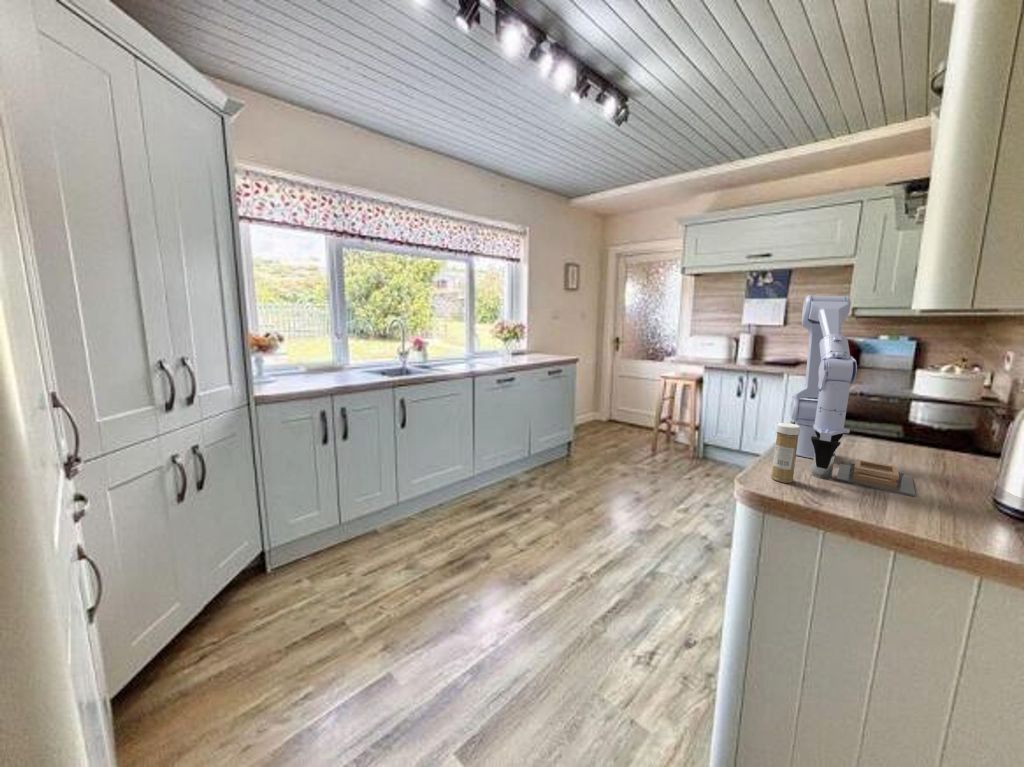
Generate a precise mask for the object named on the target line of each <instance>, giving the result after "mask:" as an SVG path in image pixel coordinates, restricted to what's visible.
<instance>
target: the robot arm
mask: <svg viewBox="0 0 1024 767" xmlns="http://www.w3.org/2000/svg"><path fill="white" fill-rule="evenodd" d="M851 302H852V301H851V298H850V297H849V296H848V295H847V294H846V295H811V294H808V295H806V297H805V298H804V300H803V303H802V312H801V327H803V328H805V329H806V330H808V331H807V332H808V347H807V358H806V370H805V383H804V387H803V388H801V389H799V390H797V391H795V392H794V393H793V395H792V399H791V402H790V406H789V417H790V419H791V420H792V421H794V424H795V425H798V426H800V434H799V436H798V443H797V451H796V457H797V456H798V457H804V458H809V459H813V460H814V454H815V459H816V466H817V467H819V468H824V469H827V468H828V466H829V464H830V461H831V458H832V455H833V453H834V452H835V453H836V451H835V450H837V448H838V447H839V446H840V445H841V441H840V440H841V439H842V437H844V434H849V433H850V428H845V421H846V416H847V415H846V414H847V411H848V410H847V409H848V404H849V402H848V401H849V396H850V391H851V390H850V388H851V385H852V384H854V382H855V380H856V378H857V372H858V371H857V370H858V364H857V360H856V358H854V356H852V355H851V353H850V346H849V340H848V338H847V337H845V336H844V335H842V325H843V324H844V322H845V321H846V319H847V317H848V316H849V313H850V311H851V306H852V305H851Z"/></svg>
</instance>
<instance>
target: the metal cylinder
mask: <svg viewBox="0 0 1024 767" xmlns="http://www.w3.org/2000/svg"><path fill="white" fill-rule="evenodd" d="M836 450H837V449H836ZM836 450H835V452H834V453H833V455H832V458H831V461H830V464H829V466H828V468H827V469H824V468H819V467H817V466H816V459H815V454H814V459H813V461H812V470H811V476H813V477H815V478H817V479H822V480H832V477H833V470H834V463H835V456H836Z"/></svg>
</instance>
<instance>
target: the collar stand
mask: <svg viewBox="0 0 1024 767" xmlns="http://www.w3.org/2000/svg"><path fill="white" fill-rule="evenodd" d="M862 466H863V467H862ZM874 468H875V469H874ZM879 469H880V470H879ZM884 470H885V471H884ZM889 471H890V472H889ZM836 481H838V482H843V483H848V484H851V485H852V484H853V485H856V486H862V487H866V488H872V489H876V490H881V491H886V492H890V493H895V494H899V495H904V496H909V497H913V498H915V497H916V491H915V486H914V482H913V478H912V476H906V475H904V472H903V470H899V467H898V466H895V465H894V466H893V465H890V464H884V463H877V462H874V461H867V460H863V459H862V460H861V459H855V461H851V462H850V465H848V464H843V463H839V467H838V471H837V475H836Z"/></svg>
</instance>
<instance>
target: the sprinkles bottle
mask: <svg viewBox="0 0 1024 767" xmlns="http://www.w3.org/2000/svg"><path fill="white" fill-rule="evenodd" d="M799 434H800V426H798V425H795V423H789V422H779V423H777V426H776V440H775V446H774V451H773V452H774V453H773V460H772V471H771V472H772V473H771V475H770V477H771V479H772V480H774V481H776V482H779V483H786V484H790V483H793V481H794V475H795V474H794V473H795V468H796V458H797V455H796V451H797V443H798V436H799Z"/></svg>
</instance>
